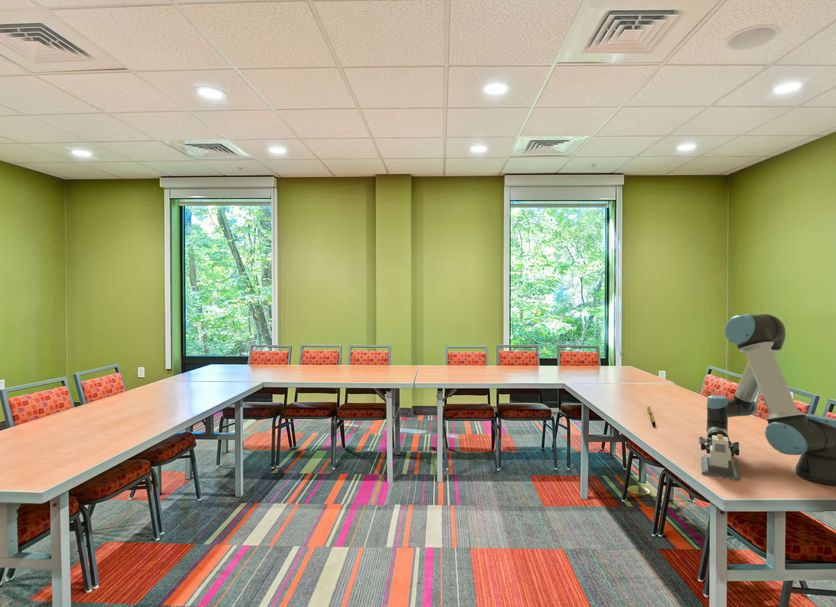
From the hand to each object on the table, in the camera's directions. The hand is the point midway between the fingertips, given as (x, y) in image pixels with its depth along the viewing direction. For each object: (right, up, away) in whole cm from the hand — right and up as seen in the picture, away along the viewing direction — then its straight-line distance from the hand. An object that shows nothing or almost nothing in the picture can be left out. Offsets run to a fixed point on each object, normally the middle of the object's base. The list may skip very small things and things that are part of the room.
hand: (720, 455), depth 164 cm
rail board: (+6, -9, +9) cm, 14 cm away
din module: (+3, -7, +5) cm, 9 cm away
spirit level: (+17, -8, +80) cm, 82 cm away
